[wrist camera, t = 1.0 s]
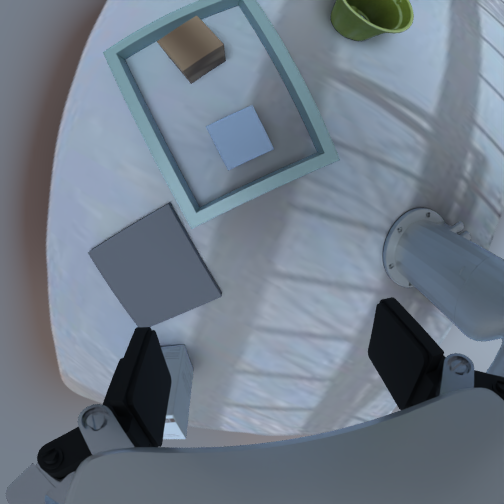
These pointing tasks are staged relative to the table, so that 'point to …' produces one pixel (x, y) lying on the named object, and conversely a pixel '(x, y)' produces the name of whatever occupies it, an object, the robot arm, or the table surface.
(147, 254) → the mat
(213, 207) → the tray
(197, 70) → the walnut block
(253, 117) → the slate box
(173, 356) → the skincare box
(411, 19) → the plant pot
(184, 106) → the table surface
